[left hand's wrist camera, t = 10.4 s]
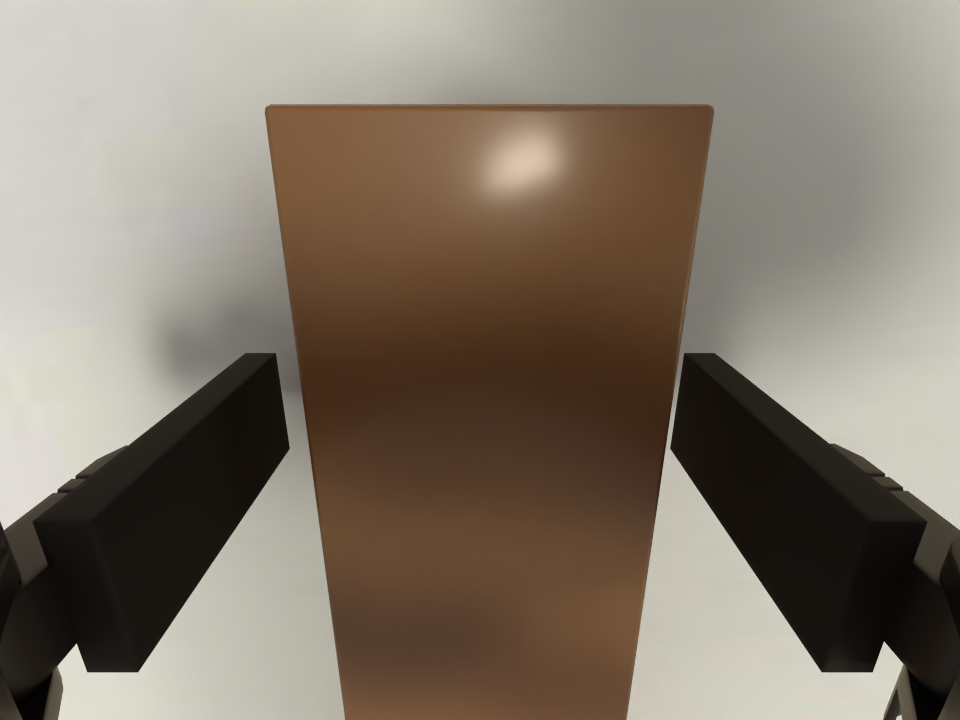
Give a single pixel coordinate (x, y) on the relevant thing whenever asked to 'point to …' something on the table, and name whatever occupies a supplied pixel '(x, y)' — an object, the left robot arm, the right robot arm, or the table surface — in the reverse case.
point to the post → (487, 388)
